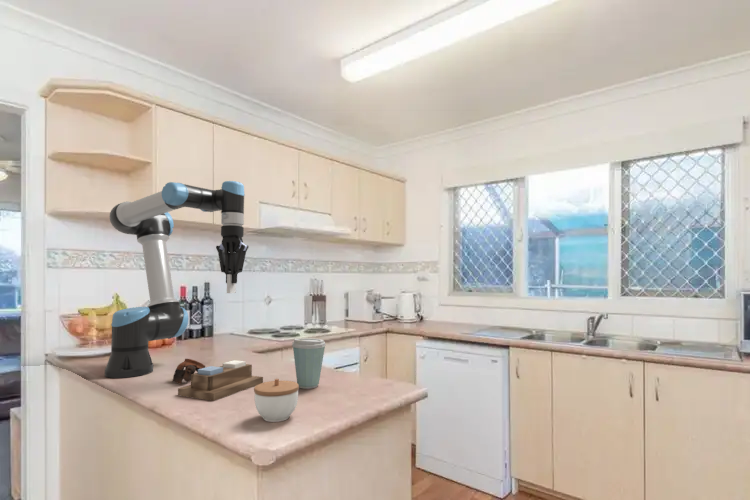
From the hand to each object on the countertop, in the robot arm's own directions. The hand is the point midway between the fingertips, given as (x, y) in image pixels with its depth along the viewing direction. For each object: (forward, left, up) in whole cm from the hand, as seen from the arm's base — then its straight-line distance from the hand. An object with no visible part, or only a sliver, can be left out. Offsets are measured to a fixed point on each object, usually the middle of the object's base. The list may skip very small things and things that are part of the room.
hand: (231, 292), depth 147 cm
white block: (+9, -8, -26) cm, 28 cm away
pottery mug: (-9, -9, -29) cm, 32 cm away
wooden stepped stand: (+9, -13, -29) cm, 33 cm away
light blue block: (+9, -18, -26) cm, 32 cm away
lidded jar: (+41, -28, -29) cm, 57 cm away
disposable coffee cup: (+32, 0, -29) cm, 43 cm away
